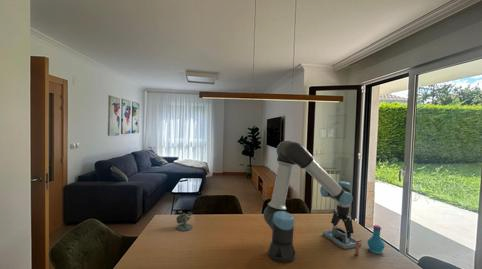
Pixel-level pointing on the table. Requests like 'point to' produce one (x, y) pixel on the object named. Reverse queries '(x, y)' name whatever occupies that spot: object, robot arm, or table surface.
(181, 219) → the figurine
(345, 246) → the tray
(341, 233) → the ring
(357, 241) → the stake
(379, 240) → the perfume bottle
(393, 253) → the table surface
